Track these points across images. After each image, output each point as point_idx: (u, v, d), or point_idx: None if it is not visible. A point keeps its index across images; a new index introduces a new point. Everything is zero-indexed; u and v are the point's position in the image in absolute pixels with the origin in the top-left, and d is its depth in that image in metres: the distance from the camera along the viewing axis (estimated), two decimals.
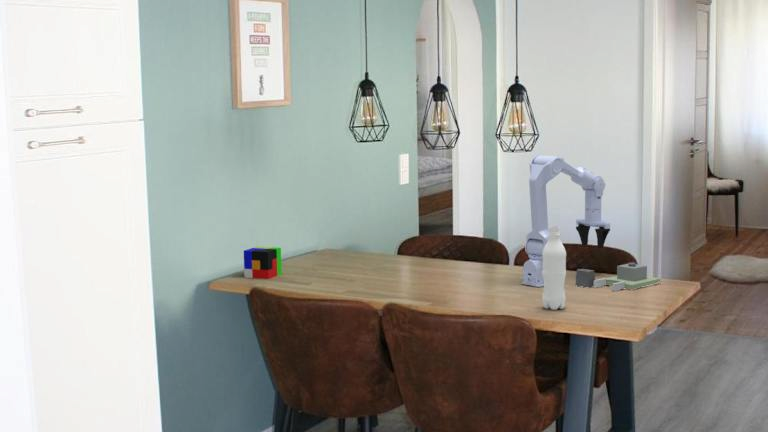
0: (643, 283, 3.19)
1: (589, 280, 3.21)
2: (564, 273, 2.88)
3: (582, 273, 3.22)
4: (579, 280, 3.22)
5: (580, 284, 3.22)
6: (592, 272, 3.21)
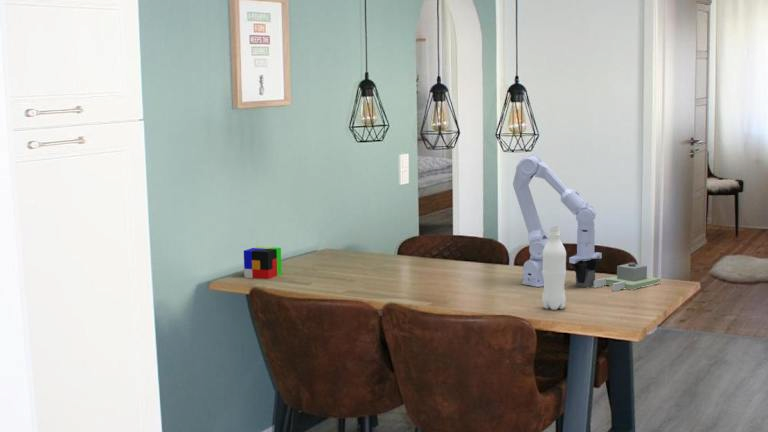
0: (643, 283, 3.19)
1: (589, 280, 3.21)
2: (564, 273, 2.88)
3: None
4: None
5: (580, 284, 3.22)
6: (592, 272, 3.21)
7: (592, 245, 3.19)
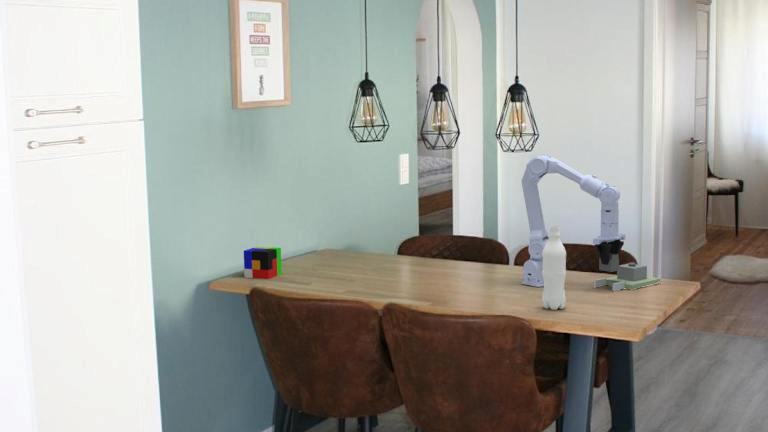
0: (643, 283, 3.19)
1: (613, 264, 3.15)
2: (564, 273, 2.88)
3: None
4: None
5: (604, 268, 3.17)
6: (616, 256, 3.16)
7: (616, 226, 3.14)
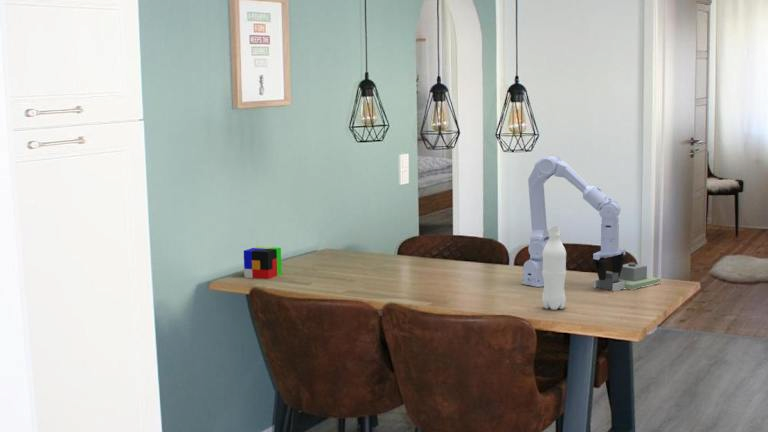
0: (643, 283, 3.19)
1: None
2: (564, 273, 2.88)
3: (606, 275, 3.17)
4: (603, 282, 3.18)
5: (604, 286, 3.18)
6: (616, 274, 3.17)
7: (616, 241, 3.15)
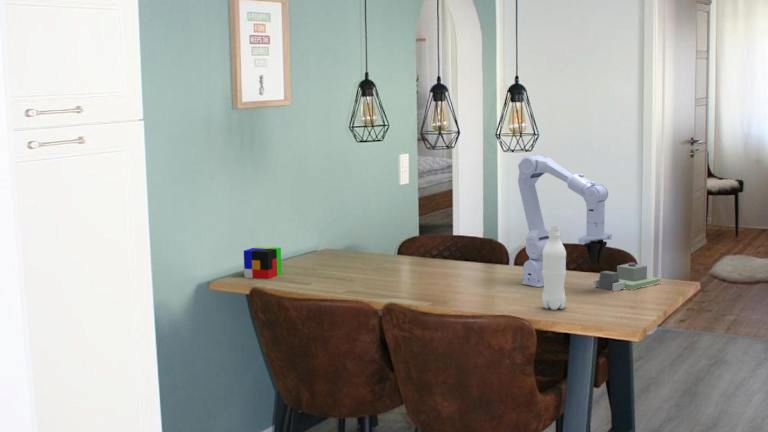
0: (643, 283, 3.19)
1: None
2: (564, 273, 2.88)
3: (606, 275, 3.17)
4: (603, 282, 3.18)
5: (604, 286, 3.18)
6: (616, 274, 3.17)
7: (602, 225, 3.09)
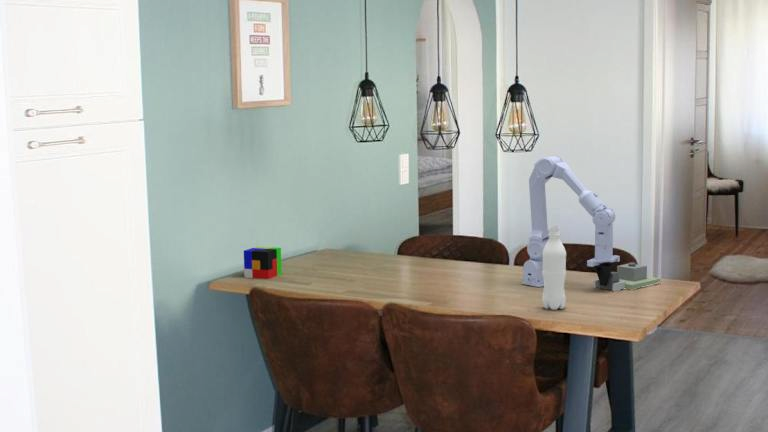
0: (643, 283, 3.19)
1: None
2: (564, 273, 2.88)
3: None
4: None
5: (604, 286, 3.18)
6: (616, 274, 3.17)
7: (610, 248, 3.13)
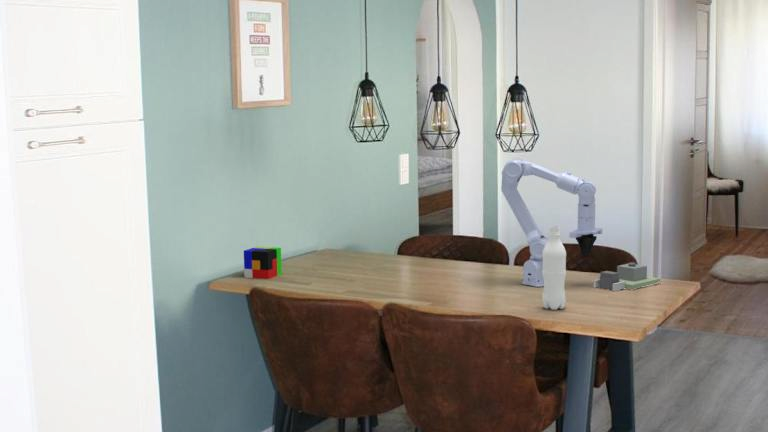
0: (643, 283, 3.19)
1: None
2: (564, 273, 2.88)
3: (606, 275, 3.17)
4: (603, 282, 3.18)
5: (604, 286, 3.18)
6: (616, 274, 3.17)
7: (592, 220, 3.19)
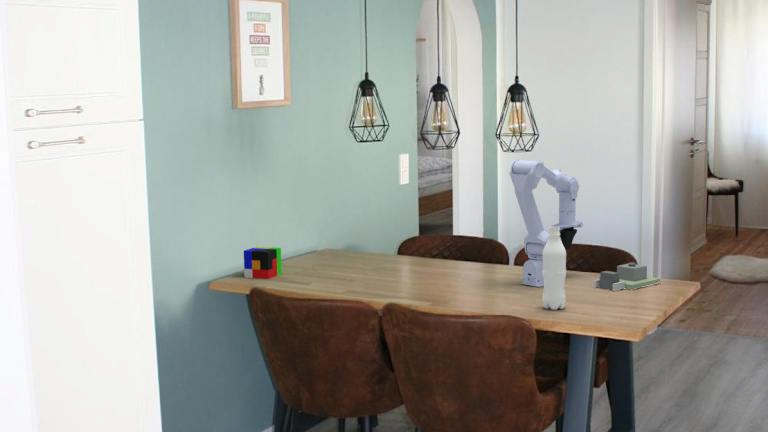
0: (643, 283, 3.19)
1: None
2: (564, 273, 2.88)
3: (606, 275, 3.17)
4: (603, 282, 3.18)
5: (604, 286, 3.18)
6: (616, 274, 3.17)
7: (573, 214, 3.35)
